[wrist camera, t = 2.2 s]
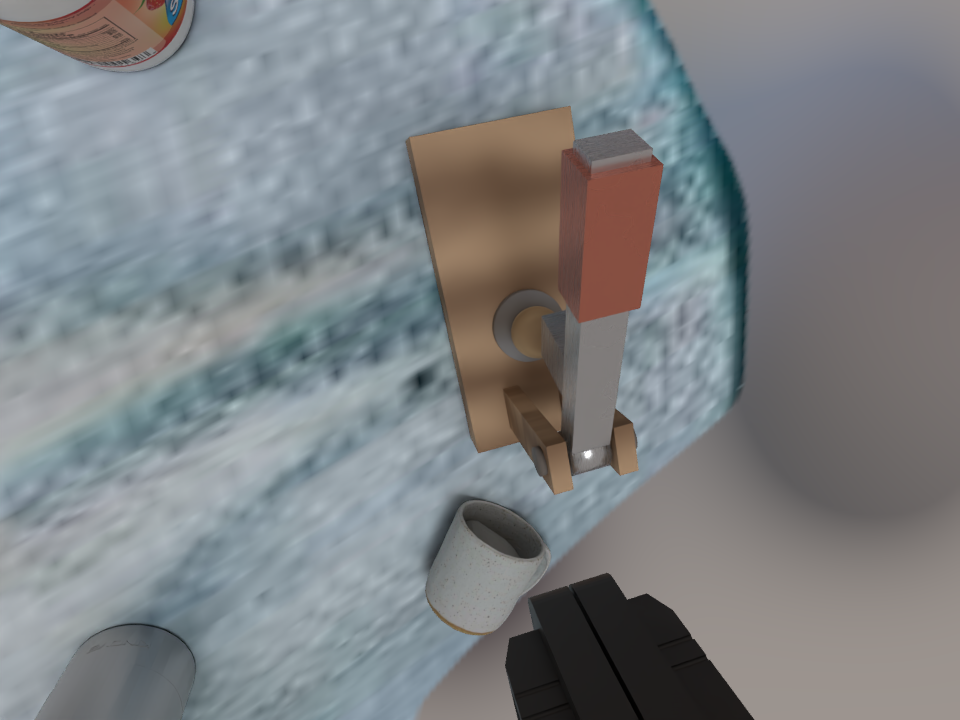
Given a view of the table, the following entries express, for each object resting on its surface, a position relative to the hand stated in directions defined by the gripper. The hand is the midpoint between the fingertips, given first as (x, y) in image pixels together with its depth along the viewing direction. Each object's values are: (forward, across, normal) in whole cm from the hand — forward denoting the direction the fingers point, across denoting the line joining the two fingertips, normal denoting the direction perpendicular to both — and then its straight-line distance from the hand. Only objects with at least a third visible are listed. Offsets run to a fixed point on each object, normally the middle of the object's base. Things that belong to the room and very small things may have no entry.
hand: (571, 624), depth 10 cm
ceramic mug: (+35, -2, +23) cm, 42 cm away
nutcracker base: (+35, -8, +1) cm, 36 cm away
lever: (+22, -8, 0) cm, 24 cm away
